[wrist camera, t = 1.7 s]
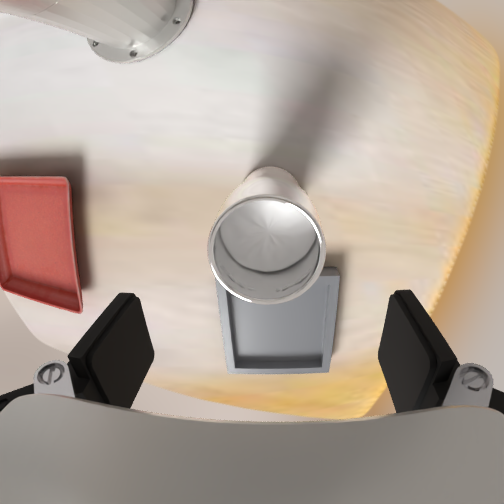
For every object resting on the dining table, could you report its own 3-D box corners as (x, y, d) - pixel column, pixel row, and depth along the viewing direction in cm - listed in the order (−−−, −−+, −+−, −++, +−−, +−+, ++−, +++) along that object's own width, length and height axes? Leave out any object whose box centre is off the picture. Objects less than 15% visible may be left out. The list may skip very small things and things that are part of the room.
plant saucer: (-4, 172, 31) (-19, 177, 28) (83, 171, 31) (67, 176, 28) (12, 280, 38) (0, 289, 35) (94, 302, 38) (83, 315, 35)
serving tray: (218, 269, 34) (215, 278, 32) (336, 266, 33) (339, 275, 31) (229, 362, 39) (227, 373, 37) (326, 361, 38) (328, 372, 36)
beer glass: (226, 175, 30) (183, 216, 16) (292, 152, 29) (309, 172, 15) (250, 237, 32) (231, 320, 18) (313, 217, 31) (342, 289, 17)
